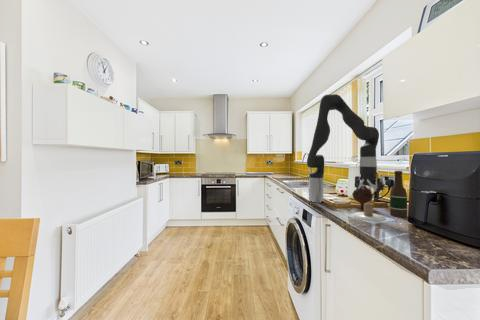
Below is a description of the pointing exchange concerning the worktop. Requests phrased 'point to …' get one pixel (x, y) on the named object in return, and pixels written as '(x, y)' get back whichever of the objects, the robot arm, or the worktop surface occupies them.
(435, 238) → the worktop surface
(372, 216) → the lid
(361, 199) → the ice cream bowl
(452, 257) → the worktop surface
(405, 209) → the beer bottle
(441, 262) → the worktop surface
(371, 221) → the mat
